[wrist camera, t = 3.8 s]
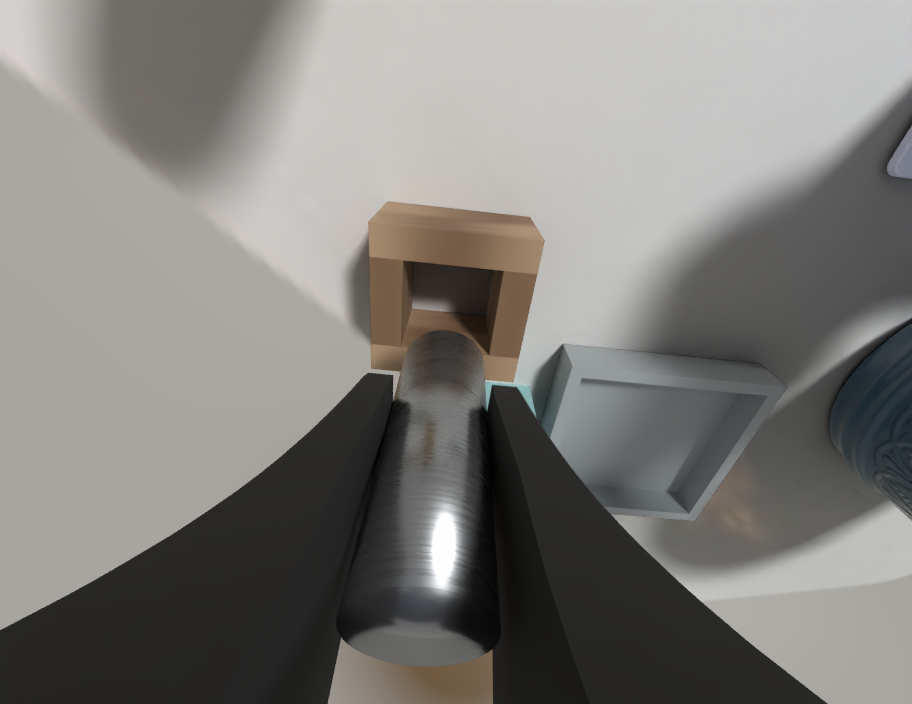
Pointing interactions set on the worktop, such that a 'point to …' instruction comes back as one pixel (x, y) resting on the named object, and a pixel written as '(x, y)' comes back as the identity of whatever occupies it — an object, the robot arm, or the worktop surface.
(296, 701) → the robot arm
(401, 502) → the cylinder
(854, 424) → the canister
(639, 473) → the tray
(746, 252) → the worktop surface
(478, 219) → the brown wooden square frame
